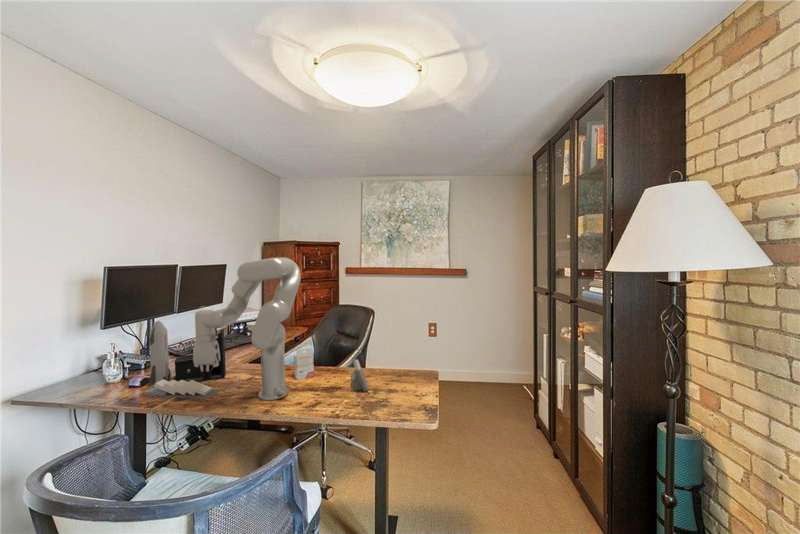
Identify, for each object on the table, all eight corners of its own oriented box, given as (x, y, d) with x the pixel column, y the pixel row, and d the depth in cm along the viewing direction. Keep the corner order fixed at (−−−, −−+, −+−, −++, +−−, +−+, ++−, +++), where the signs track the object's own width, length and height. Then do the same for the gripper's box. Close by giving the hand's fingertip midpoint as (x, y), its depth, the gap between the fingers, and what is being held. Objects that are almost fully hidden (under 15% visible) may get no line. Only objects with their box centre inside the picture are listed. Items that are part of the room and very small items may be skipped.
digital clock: (368, 392, 155) (367, 368, 155) (347, 393, 155) (347, 368, 155) (371, 379, 171) (370, 358, 171) (352, 380, 171) (352, 358, 171)
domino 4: (202, 387, 159) (182, 379, 159) (195, 392, 154) (174, 383, 154) (201, 391, 159) (181, 382, 159) (193, 395, 154) (173, 387, 154)
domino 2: (183, 387, 159) (163, 379, 160) (175, 391, 154) (154, 383, 155) (182, 390, 159) (162, 382, 160) (174, 395, 154) (153, 386, 155)
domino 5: (212, 387, 158) (191, 379, 159) (205, 392, 153) (184, 383, 154) (210, 391, 159) (190, 383, 159) (204, 395, 154) (183, 387, 154)
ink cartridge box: (311, 374, 181) (310, 345, 181) (314, 376, 177) (313, 347, 176) (294, 377, 177) (293, 347, 176) (296, 380, 172) (296, 350, 172)
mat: (222, 390, 161) (222, 389, 161) (209, 398, 151) (209, 397, 151) (174, 389, 162) (174, 388, 162) (158, 398, 152) (158, 397, 152)
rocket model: (156, 387, 166) (154, 323, 165) (141, 387, 166) (139, 323, 166) (176, 377, 180) (174, 318, 179) (163, 377, 180) (161, 318, 180)
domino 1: (173, 387, 160) (152, 388, 160) (165, 391, 155) (143, 392, 155) (173, 390, 160) (152, 391, 160) (165, 395, 155) (143, 395, 156)
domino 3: (192, 387, 159) (172, 379, 160) (185, 392, 154) (164, 383, 155) (191, 391, 159) (171, 382, 160) (184, 395, 154) (163, 386, 155)
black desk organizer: (169, 386, 166) (167, 337, 166) (174, 379, 176) (172, 332, 176) (224, 379, 175) (223, 332, 175) (226, 373, 185) (224, 328, 185)
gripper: (226, 336, 159) (228, 377, 159) (194, 336, 160) (196, 376, 160) (216, 340, 151) (218, 382, 152) (183, 340, 152) (185, 382, 153)
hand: (206, 379), depth 156 cm, fingers closed
